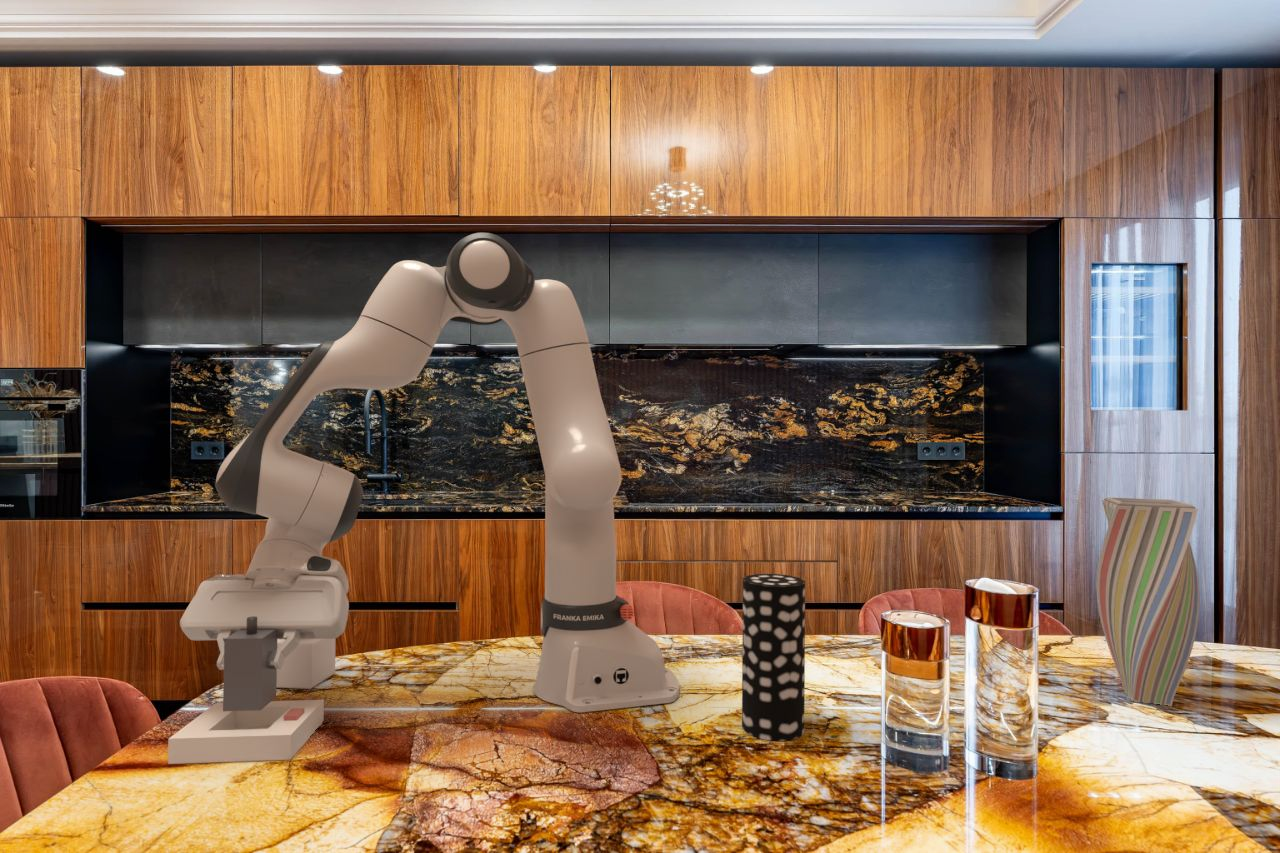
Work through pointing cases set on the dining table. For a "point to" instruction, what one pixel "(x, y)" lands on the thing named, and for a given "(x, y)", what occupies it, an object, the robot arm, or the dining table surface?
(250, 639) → the plug
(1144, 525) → the vase
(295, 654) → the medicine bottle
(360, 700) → the dining table surface
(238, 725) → the socket
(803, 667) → the white-spotted black cylinder
